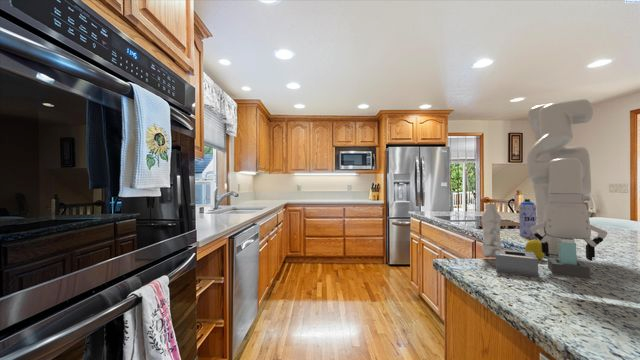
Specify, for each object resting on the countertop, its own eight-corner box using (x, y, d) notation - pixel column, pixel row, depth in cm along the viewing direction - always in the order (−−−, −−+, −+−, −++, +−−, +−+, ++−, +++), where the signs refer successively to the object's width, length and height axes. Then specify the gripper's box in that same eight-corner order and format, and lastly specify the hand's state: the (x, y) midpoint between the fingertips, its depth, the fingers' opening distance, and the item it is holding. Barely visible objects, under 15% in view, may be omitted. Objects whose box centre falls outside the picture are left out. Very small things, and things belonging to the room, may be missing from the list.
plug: (558, 270, 84) (557, 237, 85) (573, 271, 83) (572, 238, 83) (561, 273, 81) (560, 238, 82) (577, 275, 80) (575, 240, 80)
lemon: (548, 264, 95) (548, 240, 95) (530, 263, 96) (530, 240, 96) (539, 260, 100) (538, 237, 100) (522, 259, 101) (521, 237, 101)
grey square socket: (547, 270, 87) (547, 257, 88) (582, 274, 83) (581, 261, 83) (552, 277, 81) (552, 263, 81) (590, 282, 76) (589, 267, 77)
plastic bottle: (479, 257, 103) (477, 204, 104) (485, 255, 108) (484, 203, 108) (498, 261, 98) (497, 205, 99) (505, 258, 103) (503, 204, 103)
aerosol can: (521, 236, 148) (520, 199, 149) (517, 234, 155) (516, 198, 156) (539, 237, 145) (538, 199, 146) (534, 235, 152) (533, 198, 153)
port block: (495, 266, 91) (495, 248, 92) (533, 271, 86) (533, 251, 86) (496, 275, 83) (495, 254, 83) (538, 280, 78) (537, 258, 78)
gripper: (601, 200, 81) (603, 258, 81) (527, 198, 90) (529, 251, 90) (610, 200, 75) (612, 264, 74) (530, 199, 84) (532, 256, 83)
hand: (567, 257), depth 82 cm, fingers open, 9 cm apart
